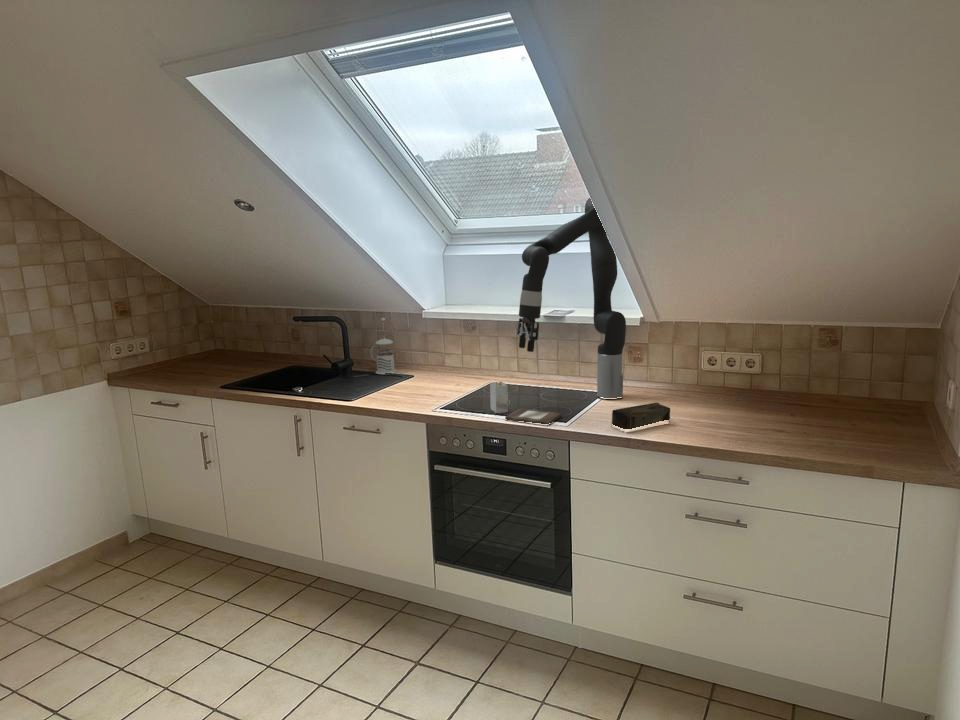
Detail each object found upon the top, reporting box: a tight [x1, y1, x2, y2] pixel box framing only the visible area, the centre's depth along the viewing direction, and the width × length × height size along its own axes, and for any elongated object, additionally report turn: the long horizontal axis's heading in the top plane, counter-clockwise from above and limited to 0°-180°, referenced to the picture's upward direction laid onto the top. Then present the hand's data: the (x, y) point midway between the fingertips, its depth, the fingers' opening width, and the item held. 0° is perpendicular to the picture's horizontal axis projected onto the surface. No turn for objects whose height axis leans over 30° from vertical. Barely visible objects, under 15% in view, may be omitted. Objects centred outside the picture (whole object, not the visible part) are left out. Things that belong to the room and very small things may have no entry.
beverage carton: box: [611, 402, 671, 429], centre depth 226 cm, size 8×19×7 cm, turn 118°
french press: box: [369, 317, 397, 375], centre depth 312 cm, size 10×12×25 cm
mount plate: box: [504, 407, 563, 424], centre depth 238 cm, size 16×12×1 cm
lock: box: [489, 381, 509, 414], centre depth 247 cm, size 4×6×11 cm
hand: (525, 349), depth 243 cm, fingers open, 8 cm apart
